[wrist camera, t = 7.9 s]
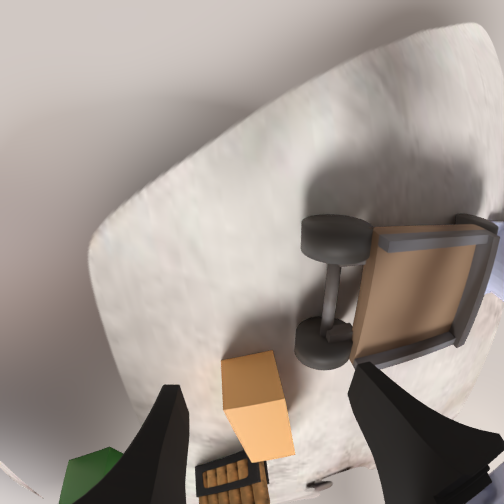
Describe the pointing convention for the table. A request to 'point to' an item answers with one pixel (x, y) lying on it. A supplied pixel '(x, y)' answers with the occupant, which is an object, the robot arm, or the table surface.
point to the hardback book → (87, 473)
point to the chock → (257, 406)
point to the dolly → (396, 288)
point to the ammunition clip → (232, 481)
